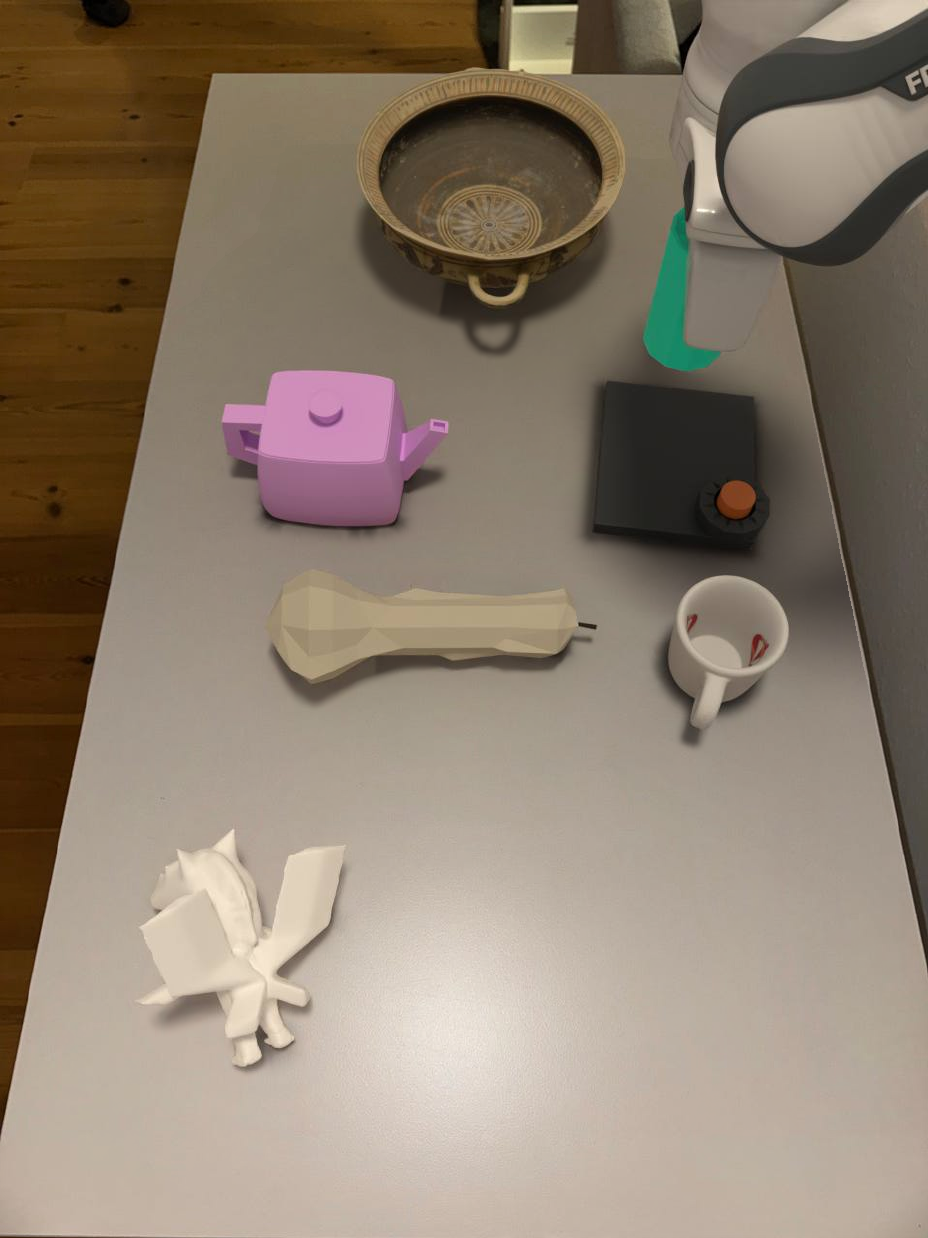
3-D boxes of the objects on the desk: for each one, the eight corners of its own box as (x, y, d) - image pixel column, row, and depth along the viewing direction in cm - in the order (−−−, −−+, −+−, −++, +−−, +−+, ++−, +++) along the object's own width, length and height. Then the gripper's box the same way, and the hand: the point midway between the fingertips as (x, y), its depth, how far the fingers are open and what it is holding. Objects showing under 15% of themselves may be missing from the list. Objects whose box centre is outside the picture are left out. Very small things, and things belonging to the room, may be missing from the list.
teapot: (452, 433, 89) (452, 354, 80) (443, 537, 85) (443, 465, 75) (247, 422, 90) (224, 341, 80) (227, 524, 85) (200, 451, 76)
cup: (739, 763, 76) (770, 725, 69) (636, 730, 77) (655, 689, 70) (768, 639, 81) (799, 592, 74) (670, 610, 82) (691, 560, 75)
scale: (759, 407, 91) (769, 385, 88) (760, 555, 84) (770, 536, 82) (604, 390, 92) (609, 367, 89) (592, 536, 85) (597, 516, 82)
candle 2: (272, 585, 81) (583, 582, 83) (272, 692, 80) (589, 686, 82) (259, 558, 73) (606, 555, 74) (257, 677, 71) (613, 671, 73)
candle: (735, 329, 77) (782, 199, 66) (702, 383, 75) (745, 257, 64) (663, 298, 78) (698, 165, 68) (629, 350, 76) (659, 221, 65)
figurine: (301, 1002, 75) (249, 816, 76) (396, 1006, 67) (337, 797, 68) (109, 1101, 65) (52, 884, 66) (193, 1120, 57) (127, 872, 58)
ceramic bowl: (363, 139, 106) (355, 47, 97) (593, 133, 107) (606, 42, 98) (365, 367, 92) (356, 286, 84) (628, 359, 93) (647, 278, 84)
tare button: (750, 492, 84) (756, 482, 82) (750, 521, 83) (756, 511, 81) (716, 488, 84) (721, 478, 83) (716, 517, 83) (720, 507, 81)
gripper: (699, 7, 65) (658, 186, 77) (690, 238, 56) (646, 400, 68) (798, 16, 65) (742, 195, 77) (806, 250, 56) (741, 410, 68)
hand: (697, 293), depth 73 cm, fingers closed on candle, 5 cm apart
